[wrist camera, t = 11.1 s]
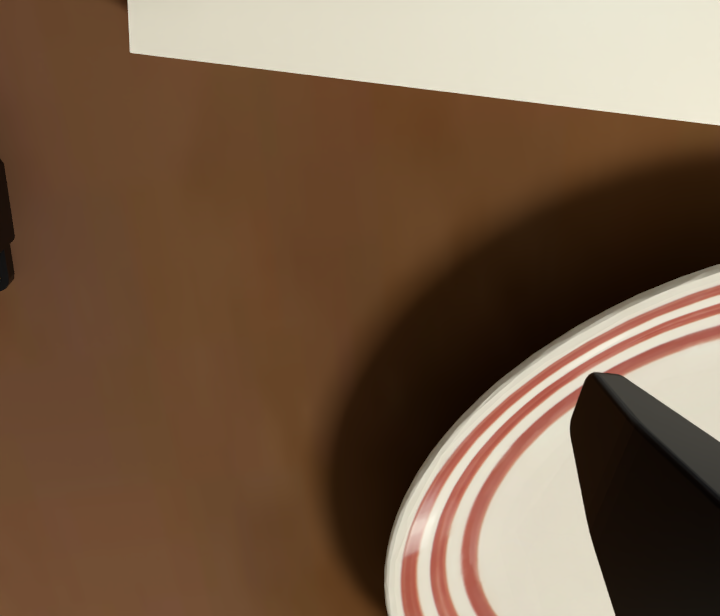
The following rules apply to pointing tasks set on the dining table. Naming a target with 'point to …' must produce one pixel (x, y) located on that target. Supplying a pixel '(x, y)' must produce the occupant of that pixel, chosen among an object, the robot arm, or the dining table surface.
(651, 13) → the painted board
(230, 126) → the dining table surface
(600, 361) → the dinner plate
